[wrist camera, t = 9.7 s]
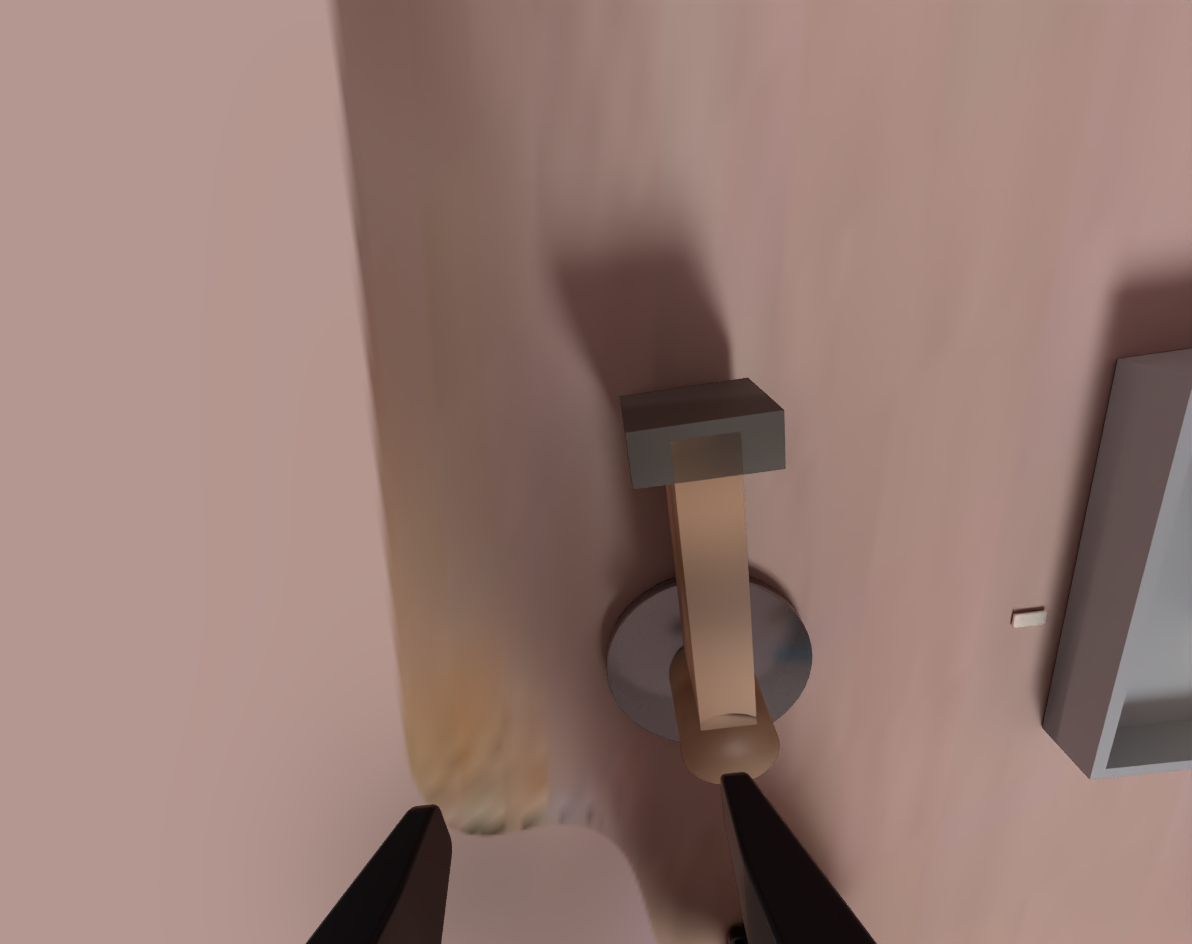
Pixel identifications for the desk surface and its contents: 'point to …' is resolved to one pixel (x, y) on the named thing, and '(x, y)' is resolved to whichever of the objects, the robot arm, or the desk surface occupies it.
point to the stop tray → (1133, 585)
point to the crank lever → (711, 559)
